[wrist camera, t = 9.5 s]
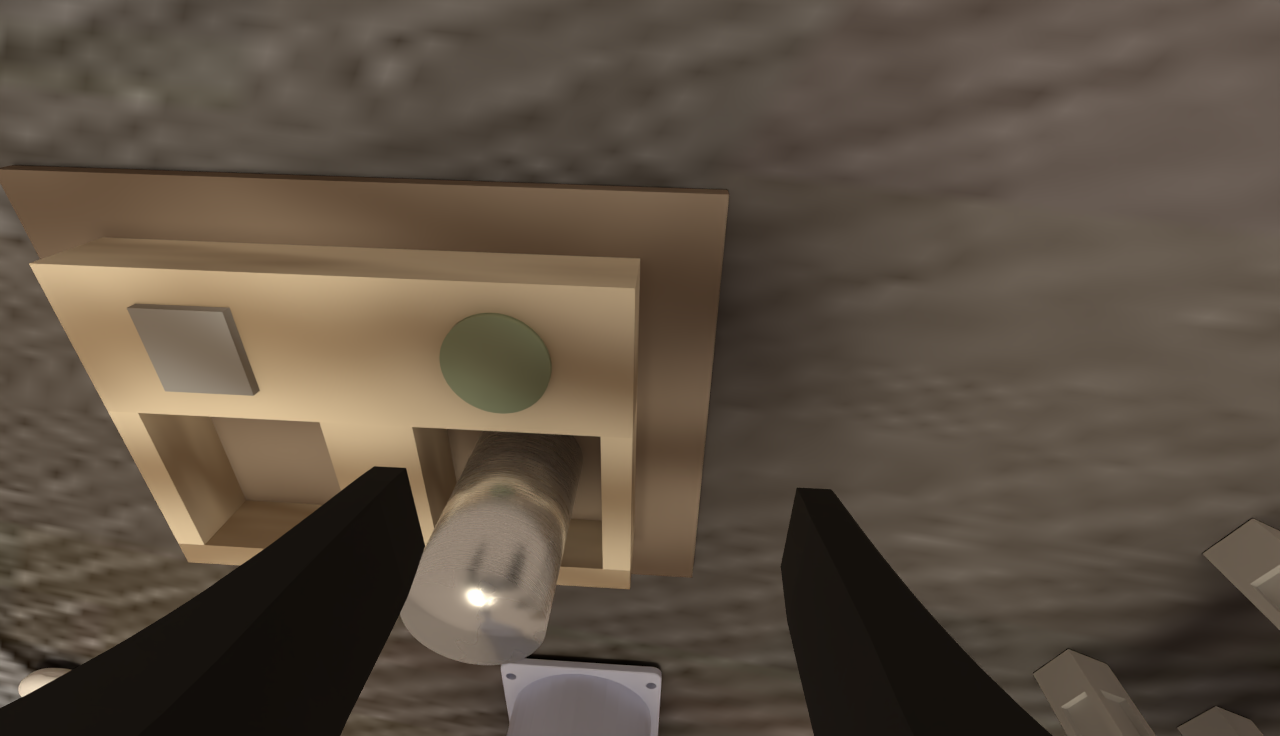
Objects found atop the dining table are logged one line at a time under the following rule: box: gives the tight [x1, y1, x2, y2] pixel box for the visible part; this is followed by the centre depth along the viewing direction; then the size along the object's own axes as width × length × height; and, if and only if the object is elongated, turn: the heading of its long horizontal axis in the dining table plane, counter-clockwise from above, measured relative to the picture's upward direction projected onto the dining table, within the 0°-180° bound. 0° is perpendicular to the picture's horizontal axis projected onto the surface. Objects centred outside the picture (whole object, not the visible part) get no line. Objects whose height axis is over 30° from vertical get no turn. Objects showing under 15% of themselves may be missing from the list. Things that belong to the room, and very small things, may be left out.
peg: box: [400, 431, 583, 665], centre depth 19 cm, size 4×4×7 cm
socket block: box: [0, 165, 729, 589], centre depth 20 cm, size 16×22×3 cm
